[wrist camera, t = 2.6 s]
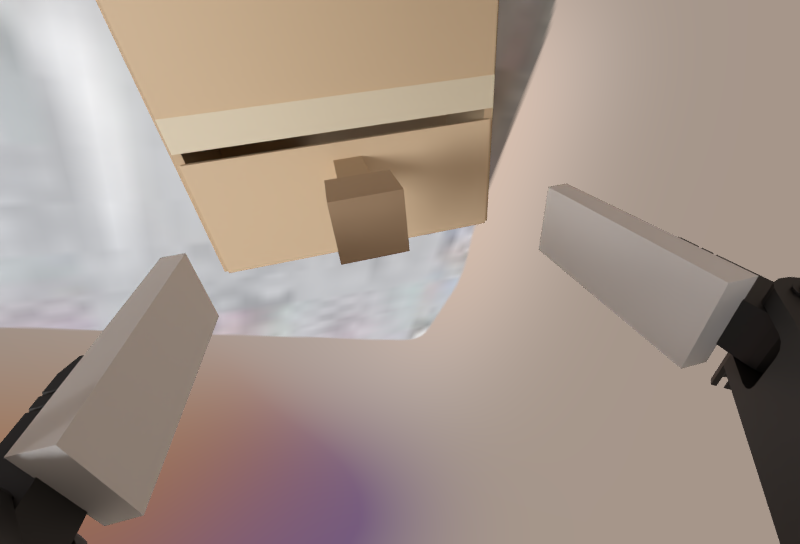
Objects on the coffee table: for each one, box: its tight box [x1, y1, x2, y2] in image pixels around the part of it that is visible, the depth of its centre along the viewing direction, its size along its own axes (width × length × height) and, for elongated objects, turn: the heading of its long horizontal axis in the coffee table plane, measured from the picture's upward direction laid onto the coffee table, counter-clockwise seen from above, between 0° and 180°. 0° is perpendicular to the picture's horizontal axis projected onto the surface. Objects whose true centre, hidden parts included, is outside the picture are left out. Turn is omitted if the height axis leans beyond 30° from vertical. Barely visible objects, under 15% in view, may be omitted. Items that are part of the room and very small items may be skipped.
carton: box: [96, 0, 499, 272], centre depth 23 cm, size 20×16×9 cm
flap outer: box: [179, 118, 490, 273], centre depth 19 cm, size 19×7×10 cm, turn 96°
